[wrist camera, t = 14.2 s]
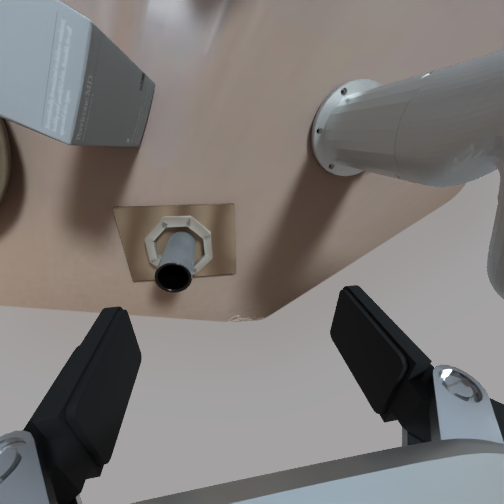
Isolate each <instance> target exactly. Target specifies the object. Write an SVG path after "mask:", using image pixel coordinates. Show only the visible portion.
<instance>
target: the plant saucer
mask: <svg viewBox="0 0 504 504" xmlns="http://www.w3.org/2000/svg"><path fill="white" fill-rule="evenodd" d="M10 172H11V150H10V143H9V138H8V134H7V130H6V127H5V124H4V121H3V118H2V117H0V203H1V202H2V200H3V198H4V196H5V193H6V191H7V188H8V183H9V179H10Z"/></svg>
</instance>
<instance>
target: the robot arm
mask: <svg viewBox="0 0 504 504" xmlns="http://www.w3.org/2000/svg"><path fill="white" fill-rule="evenodd" d="M341 91H342V94H341ZM317 129H318V133H317ZM311 142H312V148H313V152H314V155H315V158H316V159H317V161H318V163H319V164H320V165H321V166H322V167H323V168H324V169H325V170H326V171H328V172H330V173H332V174H335V175H339V176H351V175H356V174H358V173H361V172H363V171H368V172H372V173H376V174H380V175H384V176H389V177H393V178H397V179H401V180H405V181H410V182H414V183H419V184H423V185H428V186H435V187H448V186H455V185H460V184H463V183H467V182H470V181H472V180H475V179H478V178H480V177H482V176H484V175H486V174H488V173H490V172H492V171H494V170H496V169H498V170H499V172H500V187H499V194H498V206H497V211H496V216H495V221H494V226H493V231H492V236H491V241H490V246H489V252H488V260H487V272H488V277H489V280H490V283H491V284H492V286H493V288H494V289H495V291H496V292H497V293H498V294H499V295H500V296H501V297H502V298H503V299H504V50H501V51H498V52H495V53H491V54H488V55H485V56H482V57H479V58H475V59H472V60H468V61H465V62H462V63H458V64H455V65H452V66H448V67H445V68H441V69H438V70H434V71H431V72H427V73H424V74H420V75H417V76H413V77H410V78H407V79H403V80H400V81H396V82H393V83H389V84H386V85H381V84H379V83H377V82H375V81H373V80H369V79H356V80H353V81H350V82H347V83H345V84H343V85H341V86H339V87H338V88H336V89H335V90H333V91H332V92H331V93H330V94H329V95H328V96H327V97H326V99H325V100H324V102H323V103H322V104H321V106H320V108H319V110H318V112H317V114H316V116H315V120H314V123H313V127H312V140H311ZM329 165H330V167H329ZM330 334H331V338H332V340H333V342H334V343H335V345H336V347H337V348H338V350H339V352H340V354H341V355H342V357H343V359H344V360H345V362H346V364H347V365H348V367H349V369H350V371H351V372H352V374H353V376H354V377H355V379H356V381H357V383H358V384H359V386H360V387H361V389H362V391H363V393H364V394H365V396H366V398H367V400H368V401H369V403H370V405H371V407H372V408H373V410H374V411H375V412H376V413H378V414H380V416H381V418H382V419H383V421H384V422H388V421H394V420H398V421H399V423H400V424H401V426H402V447H397V448H392V449H387V450H382V451H377V452H372V453H367V454H363V455H357V456H353V457H348V458H343V459H338V460H333V461H328V462H323V463H318V464H314V465H309V466H304V467H299V468H295V469H290V470H285V471H280V472H275V473H271V474H266V475H261V476H257V477H252V478H247V479H242V480H237V481H233V482H228V483H223V484H219V485H214V486H209V487H205V488H200V489H195V490H191V491H186V492H182V493H177V494H173V495H168V496H163V497H158V498H154V499H149V500H144V501H140V502H136V503H132V504H504V404H501V403H499V402H497V401H495V400H493V399H490V398H489V397H488V394H487V392H486V390H485V389H484V388H483V387H482V386H481V384H480V383H479V382H478V381H476V380H475V379H474V378H473V377H471V376H470V375H469V374H467V373H466V372H464V371H462V370H460V369H458V368H455V367H451V366H449V365H439V366H436V367H435V368H434V367H433V366H432V365H431V364H430V363H431V360H430V359H429V358H428V357H427V356H426V355H425V354H424V353H423V352H422V351H421V350H420V349H419V348H418V347H417V346H416V345H415V344H414V343H413V341H412V340H410V338H409V337H408V336H407V335H406V334H405V333H404V332H403V331H402V330H401V329H400V328H399V327H398V326H397V325H396V324H395V323H394V322H393V321H392V320H391V319H390V318H389V317H388V316H387V315H386V314H385V313H384V312H383V310H381V309H380V307H379V306H378V305H377V304H376V303H375V302H374V301H373V300H372V299H371V298H370V297H369V296H368V295H367V294H366V293H365V292H364V291H363V290H362V289H361V288H360V287H359V286H357V285H356V286H346V287H344V288H343V290H341V291H340V294H339V298H338V302H337V306H336V310H335V314H334V318H333V322H332V327H331V330H330ZM140 363H141V352H140V349H139V346H138V343H137V340H136V336H135V333H134V330H133V327H132V324H131V321H130V318H129V315H128V312H127V310H123V309H122V308H121V307H111V308H104V309H103V310H102V311H101V313H100V315H99V317H98V318H97V319H96V321H95V323H94V324H93V326H92V327H91V329H90V331H89V332H88V334H87V335H86V337H85V339H84V340H83V342H82V343H81V345H80V346H78V347H77V348H76V349H75V351H74V352H73V353H72V355H71V357H70V358H69V360H68V361H67V363H66V364H65V366H64V367H63V369H62V370H61V372H60V374H59V375H58V377H57V378H56V380H55V381H54V383H53V385H52V386H51V388H50V389H49V391H48V393H47V394H46V396H45V397H44V399H43V400H42V402H41V403H40V405H39V406H38V408H37V410H36V411H35V413H34V414H33V416H32V418H31V419H30V421H29V422H28V424H27V425H26V427H25V428H24V430H22V431H14V432H11V433H8V434H5V435H3V436H1V437H0V504H82V501H81V498H80V495H79V494H80V493H81V491H82V488H83V485H84V483H85V480H86V479H89V478H94V477H99V476H100V475H101V472H102V469H103V466H104V464H107V463H108V462H109V460H110V458H111V456H112V453H113V449H114V446H115V443H116V440H117V437H118V434H119V430H120V427H121V424H122V421H123V418H124V414H125V411H126V408H127V405H128V402H129V399H130V395H131V392H132V389H133V386H134V383H135V379H136V376H137V373H138V370H139V367H140Z"/></svg>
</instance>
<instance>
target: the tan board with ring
mask: <svg viewBox="0 0 504 504" xmlns="http://www.w3.org/2000/svg"><path fill="white" fill-rule="evenodd" d="M113 212H114V216H115V219H116V223H117V226H118V230H119V233H120V237H121V240H122V244H123V247H124V251H125V254H126V258H127V261H128V265H129V268H130V272H131V275H132V279H133V281H142V280H155V278H154V275H155V271H156V269H157V266H158V264H159V262H160V259H161V257H162V254H163V252H164V249H165V247H166V244H167V242H168V240H169V238H170V236H171V235H172V234H174V233H176V232H186V233H189V234H190V235H192V236H193V237H194V239H195V241H196V251H195V259H194V267H193V274H192V277H195V276H208V275H222V274H235V273H236V258H235V217H234V204H200V205H167V206H133V207H114V208H113Z"/></svg>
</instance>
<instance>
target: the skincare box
mask: <svg viewBox="0 0 504 504" xmlns="http://www.w3.org/2000/svg"><path fill="white" fill-rule="evenodd" d="M154 87H155V83H154V82H153V81H152V80H151V79H150V78H149V77H148V76H147V75H146V74H145V73H144V72H143V71H142V70H141V69H140V68H139V67H138V66H137V65H136V64H135V63H134V62H133V61H132V60H131V59H130V58H129V57H128V56H127V55H126V54H125V53H124V52H123V51H122V50H120V49H119V48H118V47H117V46H116V45H115V44H114V43H113V42H112V41H111V40H110V39H109V38H108V37H107V36H106V35H105V34H104V33H103V32H102V31H101V30H100V29H99V28H98V27H97V26H96V25H95V24H94V23H93V22H92V21H91V20H89V19H88V18H87V17H85V16H83V15H82V14H80V13H79V12H77V11H75V10H74V9H72V8H71V7H69V6H67V5H66V4H64V3H62V2H61V1H59V0H0V117H2V118H4V119H7V120H9V121H11V122H14V123H16V124H19V125H21V126H24V127H26V128H28V129H31V130H33V131H36V132H38V133H41V134H43V135H46V136H48V137H51V138H53V139H55V140H58V141H60V142H63V143H65V144H68V145H80V146H113V147H139V146H140V142H141V139H142V135H143V132H144V129H145V125H146V122H147V118H148V114H149V110H150V106H151V102H152V97H153V92H154Z"/></svg>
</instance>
